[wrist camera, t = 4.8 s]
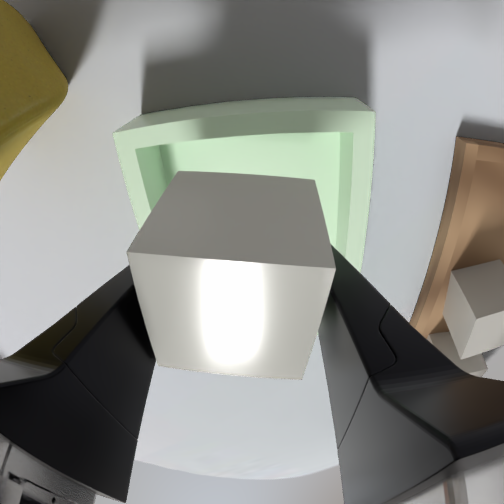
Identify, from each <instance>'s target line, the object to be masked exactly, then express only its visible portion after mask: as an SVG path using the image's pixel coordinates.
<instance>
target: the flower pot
mask: <svg viewBox="0 0 504 504" xmlns="http://www.w3.org/2000/svg"><path fill="white" fill-rule="evenodd" d="M67 92H68V82H67V79H66V78H65V76H64V75H63V73H62V72H61V70H60V69H59V67H58V66H57V64H56V63H55V62H54V60H53V59H52V57H51V56H50V54H49V53H48V51H47V50H46V48H45V47H44V45H43V44H42V42H41V41H40V39H39V37H38V36H37V34H36V33H35V31H34V30H33V28H32V27H31V25H30V24H29V23H28V22H27V21H26V20H25V19H24V18H23V16H22V15H21V14H20V13H19V12H18V11H17V10H15V9H14V8H13V7H12V6H11V5H9V4H8V3H6V2H5V1H3V0H0V180H1V179H2V177H3V176H4V174H5V173H6V171H7V170H8V168H9V167H10V165H11V164H12V162H13V161H14V160H15V158H16V157H17V156H18V154H19V153H20V152H21V150H22V149H23V148H24V146H25V145H26V144H27V143H28V141H29V140H30V139H31V138H32V136H33V135H34V134H35V133H36V132H37V130H38V129H39V128H40V127H41V126H42V125H43V123H44V122H45V121H46V120H47V119H48V118H49V117H50V116H51V115H52V114H53V113H54V111H55V110H56V109H57V108H58V107H59V106H60V104H61V103H62V102H63V101H64V99H65V97H66V95H67Z"/></svg>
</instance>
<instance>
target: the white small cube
mask: <svg viewBox="0 0 504 504" xmlns="http://www.w3.org/2000/svg"><path fill="white" fill-rule="evenodd" d="M442 314H443V316H444V319H445V321H446V323H447V326H448V328H449V331H450V333H451V336H452V338H453V341H454V343H455V346H456V349H457V351H458V354H459V357H460V359H465V358H468V357H471V356H474V355H477V354H480V353H483V352H486V351H489V350H492V349H495V348H498V347H501V346H503V345H504V264H503V263H502V261H501V260H500V259H499V260H495V261H491V262H487V263H483V264H479V265H474V266H470V267H466V268H462V269H458V270H453V271H451V275H450V280H449V285H448V290H447V295H446V300H445V305H444V309H443V313H442Z"/></svg>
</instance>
